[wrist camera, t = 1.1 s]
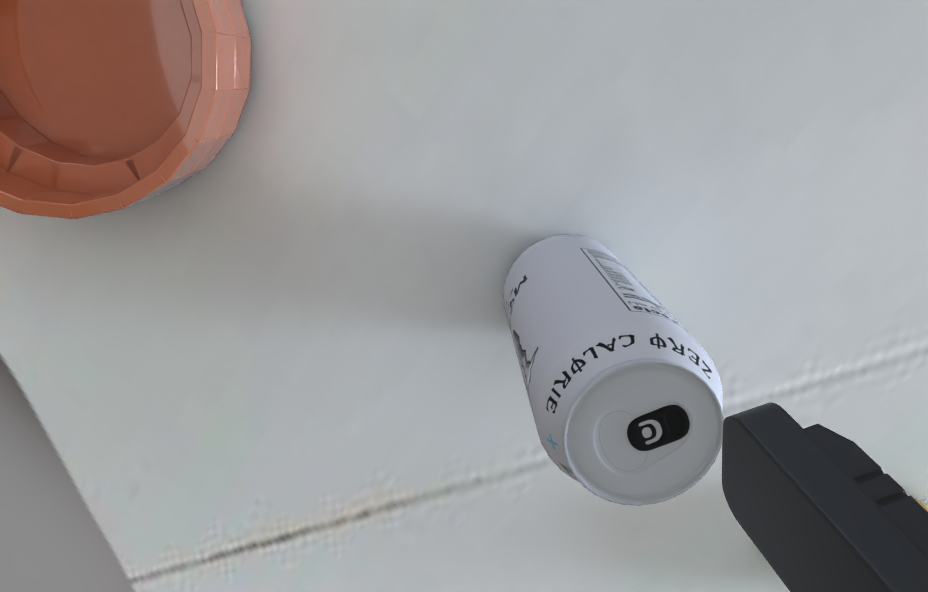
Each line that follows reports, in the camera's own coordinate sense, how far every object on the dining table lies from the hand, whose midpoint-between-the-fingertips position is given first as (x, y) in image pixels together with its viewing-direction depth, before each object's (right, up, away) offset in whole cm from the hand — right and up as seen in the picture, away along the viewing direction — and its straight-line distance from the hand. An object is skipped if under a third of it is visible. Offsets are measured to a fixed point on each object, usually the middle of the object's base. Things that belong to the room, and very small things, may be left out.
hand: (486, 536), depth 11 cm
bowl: (-16, +15, +20) cm, 30 cm away
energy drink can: (+5, +4, +25) cm, 25 cm away
